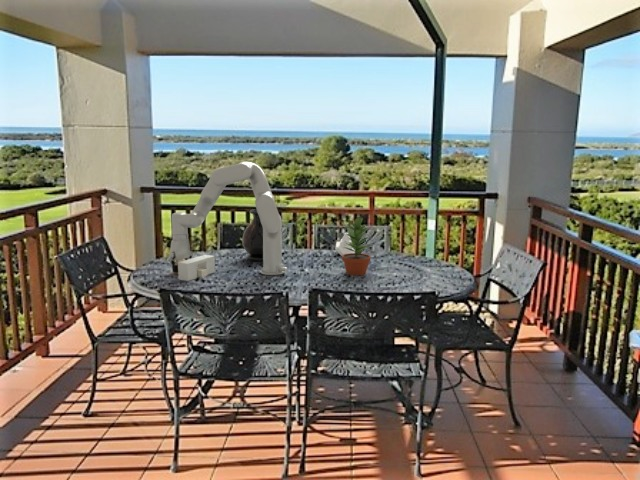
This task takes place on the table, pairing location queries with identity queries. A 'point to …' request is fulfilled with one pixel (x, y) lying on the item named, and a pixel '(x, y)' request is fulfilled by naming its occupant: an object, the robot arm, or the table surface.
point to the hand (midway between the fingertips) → (181, 270)
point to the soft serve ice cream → (344, 245)
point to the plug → (200, 271)
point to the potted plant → (356, 250)
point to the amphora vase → (254, 238)
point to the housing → (189, 269)
